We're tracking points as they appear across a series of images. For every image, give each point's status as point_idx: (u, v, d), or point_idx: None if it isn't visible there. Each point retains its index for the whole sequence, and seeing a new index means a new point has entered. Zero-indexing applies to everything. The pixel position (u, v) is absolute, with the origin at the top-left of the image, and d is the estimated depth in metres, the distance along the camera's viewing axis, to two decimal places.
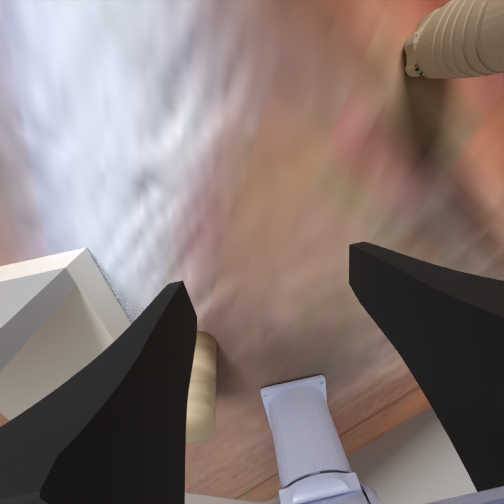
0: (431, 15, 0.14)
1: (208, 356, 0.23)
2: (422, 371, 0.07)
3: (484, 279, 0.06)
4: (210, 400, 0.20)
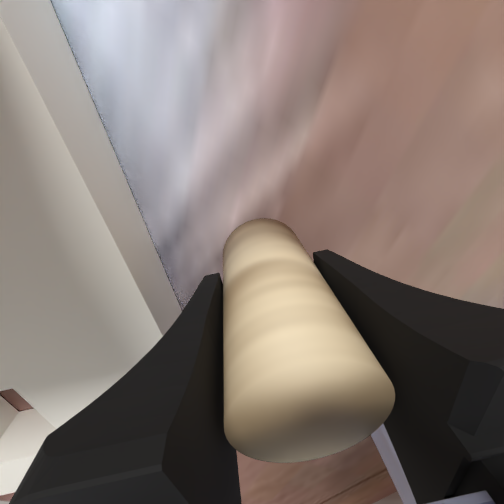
0: None
1: (305, 253, 0.10)
2: None
3: (423, 292, 0.06)
4: None
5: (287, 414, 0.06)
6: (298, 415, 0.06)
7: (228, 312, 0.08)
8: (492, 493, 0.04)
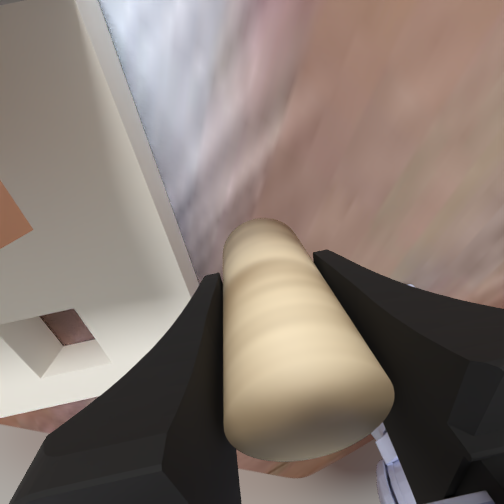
0: None
1: (305, 252, 0.10)
2: None
3: (423, 292, 0.06)
4: None
5: (287, 413, 0.06)
6: (298, 413, 0.06)
7: (228, 311, 0.08)
8: (491, 492, 0.04)
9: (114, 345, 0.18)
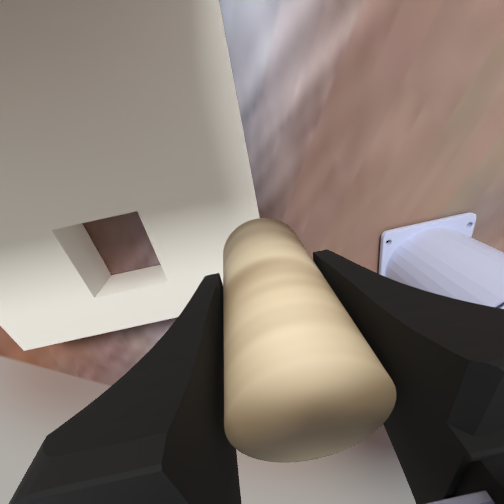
0: None
1: (306, 252, 0.10)
2: None
3: (423, 292, 0.06)
4: None
5: (288, 413, 0.05)
6: (299, 414, 0.06)
7: (228, 311, 0.08)
8: (491, 493, 0.04)
9: (172, 260, 0.17)
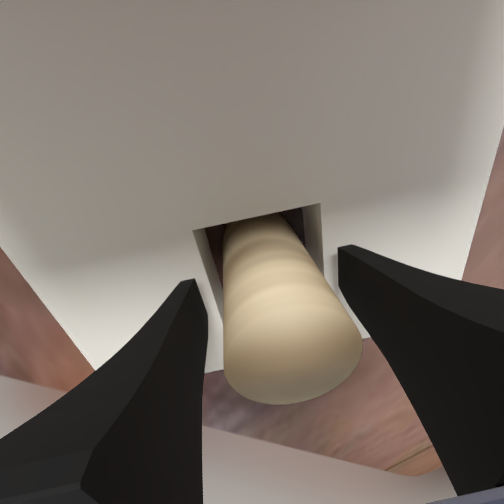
0: None
1: (296, 236, 0.11)
2: (405, 375, 0.07)
3: (464, 283, 0.06)
4: (336, 296, 0.08)
5: (274, 357, 0.07)
6: (284, 357, 0.07)
7: (227, 283, 0.09)
8: None
9: None
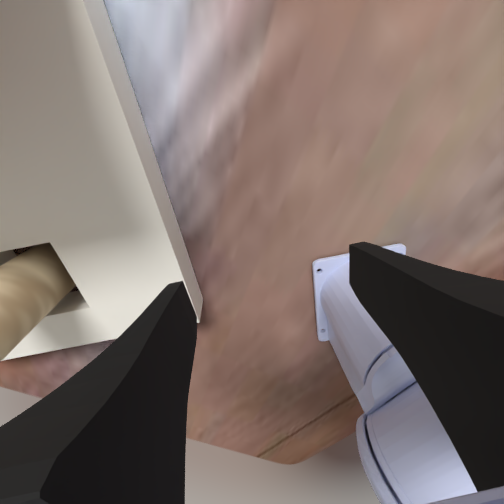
0: None
1: (50, 262, 0.17)
2: (422, 371, 0.07)
3: (484, 279, 0.06)
4: (11, 303, 0.13)
5: None
6: None
7: None
8: None
9: (91, 287, 0.17)
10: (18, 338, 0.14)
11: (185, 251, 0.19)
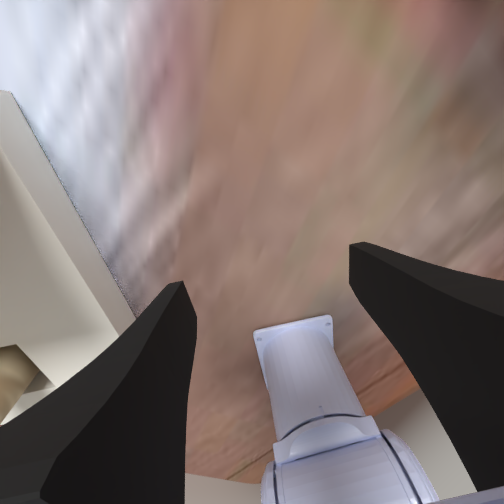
0: None
1: (18, 355, 0.20)
2: (422, 371, 0.07)
3: (484, 279, 0.06)
4: None
5: None
6: None
7: None
8: None
9: (56, 372, 0.20)
10: None
11: None
